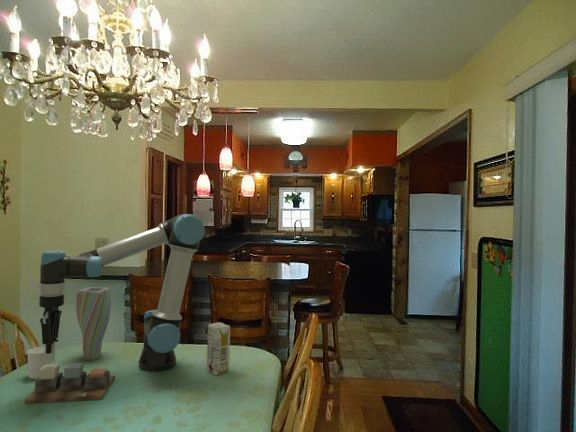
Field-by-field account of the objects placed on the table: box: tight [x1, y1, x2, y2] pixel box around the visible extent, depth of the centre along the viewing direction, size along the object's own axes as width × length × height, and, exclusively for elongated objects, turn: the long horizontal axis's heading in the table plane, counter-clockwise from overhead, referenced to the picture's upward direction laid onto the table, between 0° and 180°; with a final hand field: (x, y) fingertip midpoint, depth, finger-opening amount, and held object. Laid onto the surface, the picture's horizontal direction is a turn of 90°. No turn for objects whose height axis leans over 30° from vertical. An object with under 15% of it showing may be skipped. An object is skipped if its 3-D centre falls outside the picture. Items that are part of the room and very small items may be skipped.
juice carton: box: [206, 322, 231, 376], centre depth 165 cm, size 8×9×19 cm
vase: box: [75, 286, 112, 361], centre depth 177 cm, size 14×14×30 cm
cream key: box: [39, 363, 60, 380], centre depth 142 cm, size 5×5×5 cm
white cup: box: [27, 346, 51, 380], centre depth 155 cm, size 8×8×10 cm
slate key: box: [63, 362, 84, 379], centre depth 144 cm, size 5×5×5 cm
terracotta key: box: [88, 367, 108, 378], centre depth 145 cm, size 5×5×5 cm
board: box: [24, 370, 116, 404], centre depth 144 cm, size 24×18×5 cm
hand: (49, 361), depth 142 cm, fingers closed
